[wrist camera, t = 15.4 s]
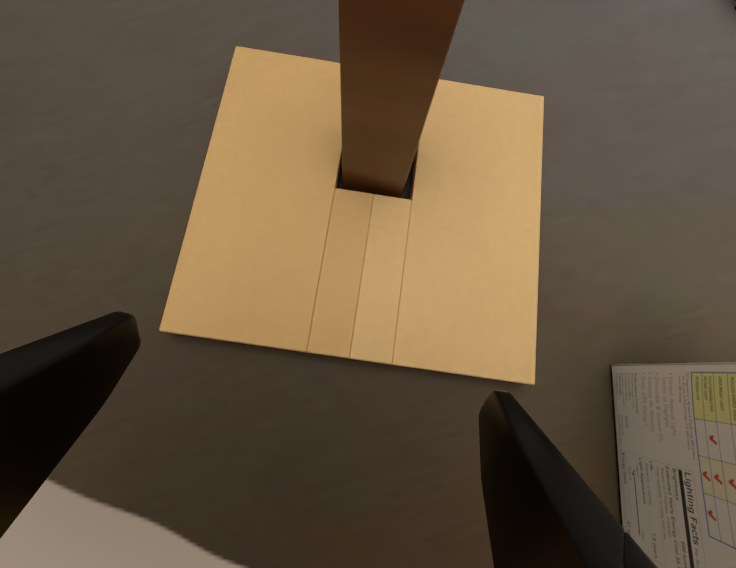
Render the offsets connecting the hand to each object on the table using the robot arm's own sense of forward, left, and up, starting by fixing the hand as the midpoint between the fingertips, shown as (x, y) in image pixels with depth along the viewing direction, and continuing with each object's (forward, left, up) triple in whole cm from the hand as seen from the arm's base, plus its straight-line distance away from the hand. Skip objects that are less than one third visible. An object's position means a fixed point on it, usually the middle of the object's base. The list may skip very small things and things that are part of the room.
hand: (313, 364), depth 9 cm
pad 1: (+11, +5, -14) cm, 18 cm away
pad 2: (+11, -6, -14) cm, 18 cm away
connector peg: (+14, -1, -14) cm, 19 cm away
